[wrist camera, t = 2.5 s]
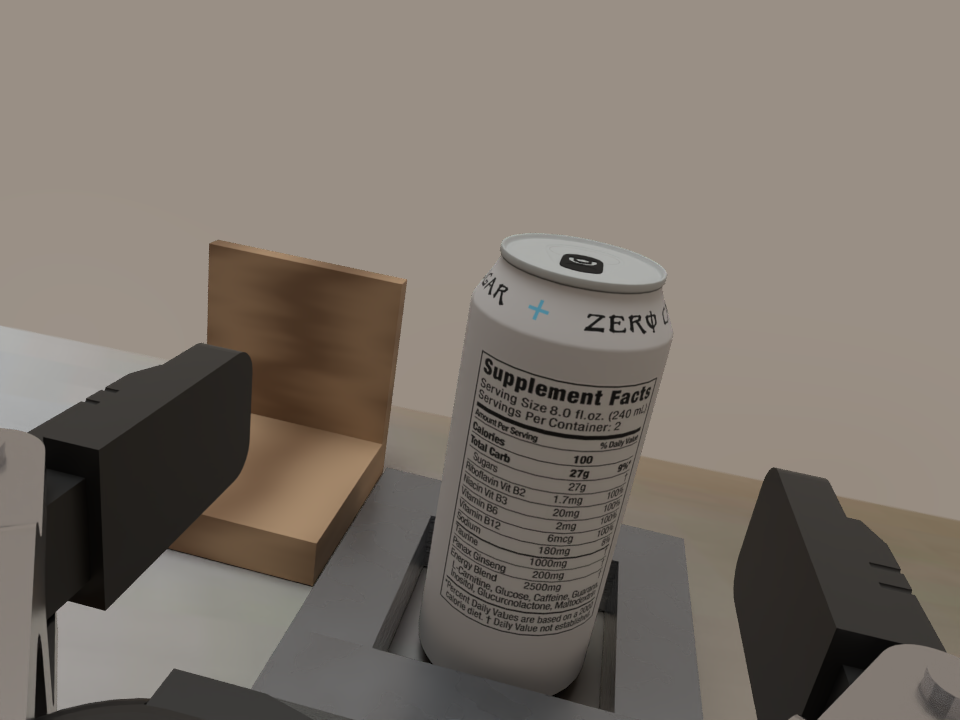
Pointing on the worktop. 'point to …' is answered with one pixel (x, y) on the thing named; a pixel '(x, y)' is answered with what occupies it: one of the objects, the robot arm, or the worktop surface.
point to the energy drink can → (542, 456)
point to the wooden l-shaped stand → (300, 405)
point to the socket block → (453, 694)
